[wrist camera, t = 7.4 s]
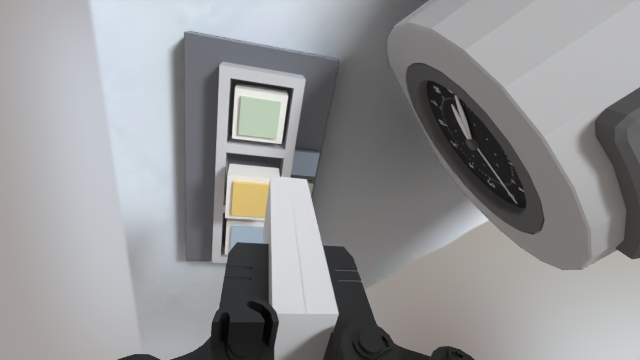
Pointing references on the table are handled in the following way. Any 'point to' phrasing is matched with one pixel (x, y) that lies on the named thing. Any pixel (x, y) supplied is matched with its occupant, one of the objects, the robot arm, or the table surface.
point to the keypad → (217, 122)
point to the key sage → (259, 113)
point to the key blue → (243, 232)
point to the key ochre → (248, 191)
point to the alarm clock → (533, 116)
